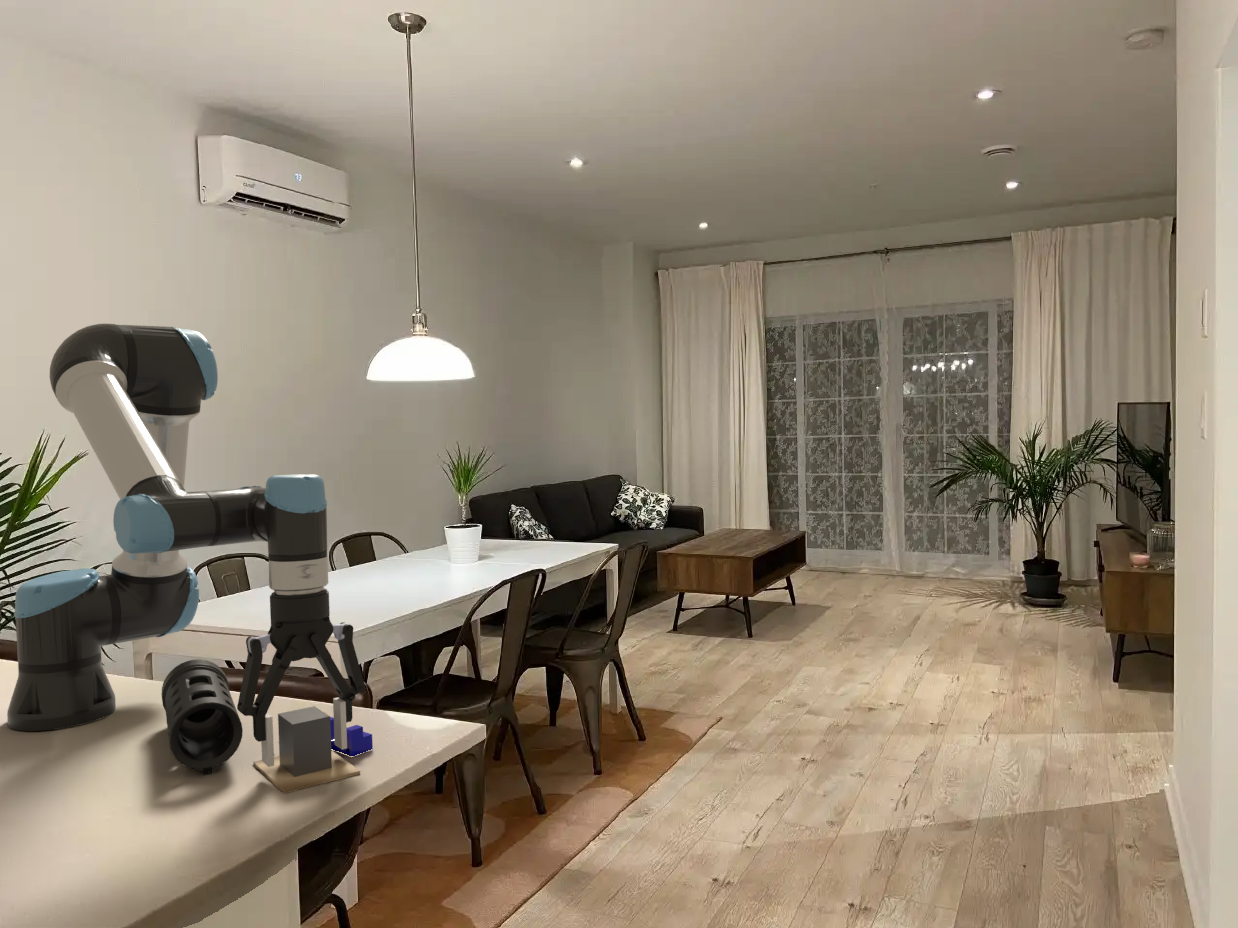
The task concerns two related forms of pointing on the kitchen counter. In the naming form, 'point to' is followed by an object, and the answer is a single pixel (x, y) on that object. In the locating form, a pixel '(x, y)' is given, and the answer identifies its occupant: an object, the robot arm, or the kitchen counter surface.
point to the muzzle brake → (200, 715)
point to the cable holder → (353, 740)
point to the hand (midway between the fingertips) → (305, 754)
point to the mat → (291, 783)
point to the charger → (304, 741)
